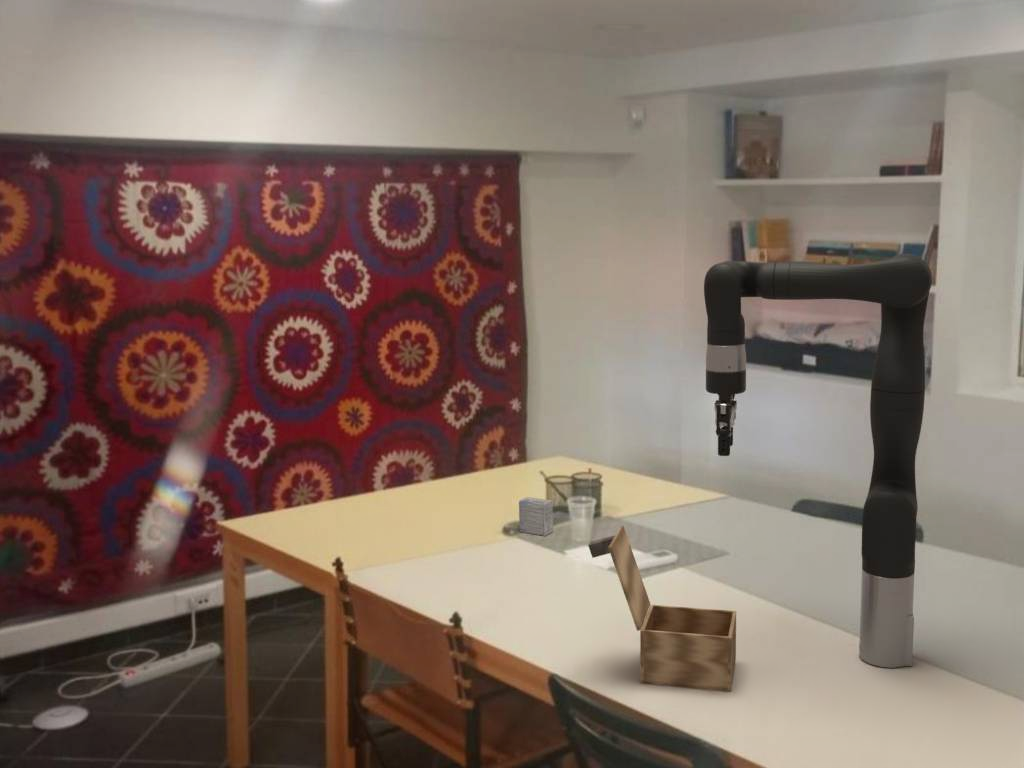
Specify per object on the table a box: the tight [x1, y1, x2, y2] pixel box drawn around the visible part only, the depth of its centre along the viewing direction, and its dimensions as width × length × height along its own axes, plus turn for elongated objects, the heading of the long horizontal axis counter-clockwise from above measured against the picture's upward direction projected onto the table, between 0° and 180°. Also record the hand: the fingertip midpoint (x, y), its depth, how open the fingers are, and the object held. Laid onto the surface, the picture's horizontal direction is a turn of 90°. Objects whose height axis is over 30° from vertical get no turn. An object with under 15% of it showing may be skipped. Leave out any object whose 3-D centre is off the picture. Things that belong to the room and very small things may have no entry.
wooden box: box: [639, 604, 737, 693], centre depth 202 cm, size 16×13×10 cm
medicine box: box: [518, 496, 554, 537], centre depth 289 cm, size 8×4×9 cm, turn 58°
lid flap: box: [587, 525, 651, 631], centre depth 204 cm, size 16×13×6 cm
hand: (725, 450), depth 213 cm, fingers open, 8 cm apart
